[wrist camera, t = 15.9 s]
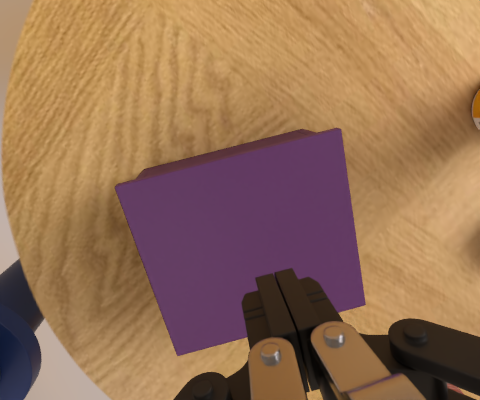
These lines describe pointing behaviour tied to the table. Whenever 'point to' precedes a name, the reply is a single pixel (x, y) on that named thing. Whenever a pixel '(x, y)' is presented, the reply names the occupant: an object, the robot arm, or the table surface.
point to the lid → (244, 233)
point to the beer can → (476, 109)
